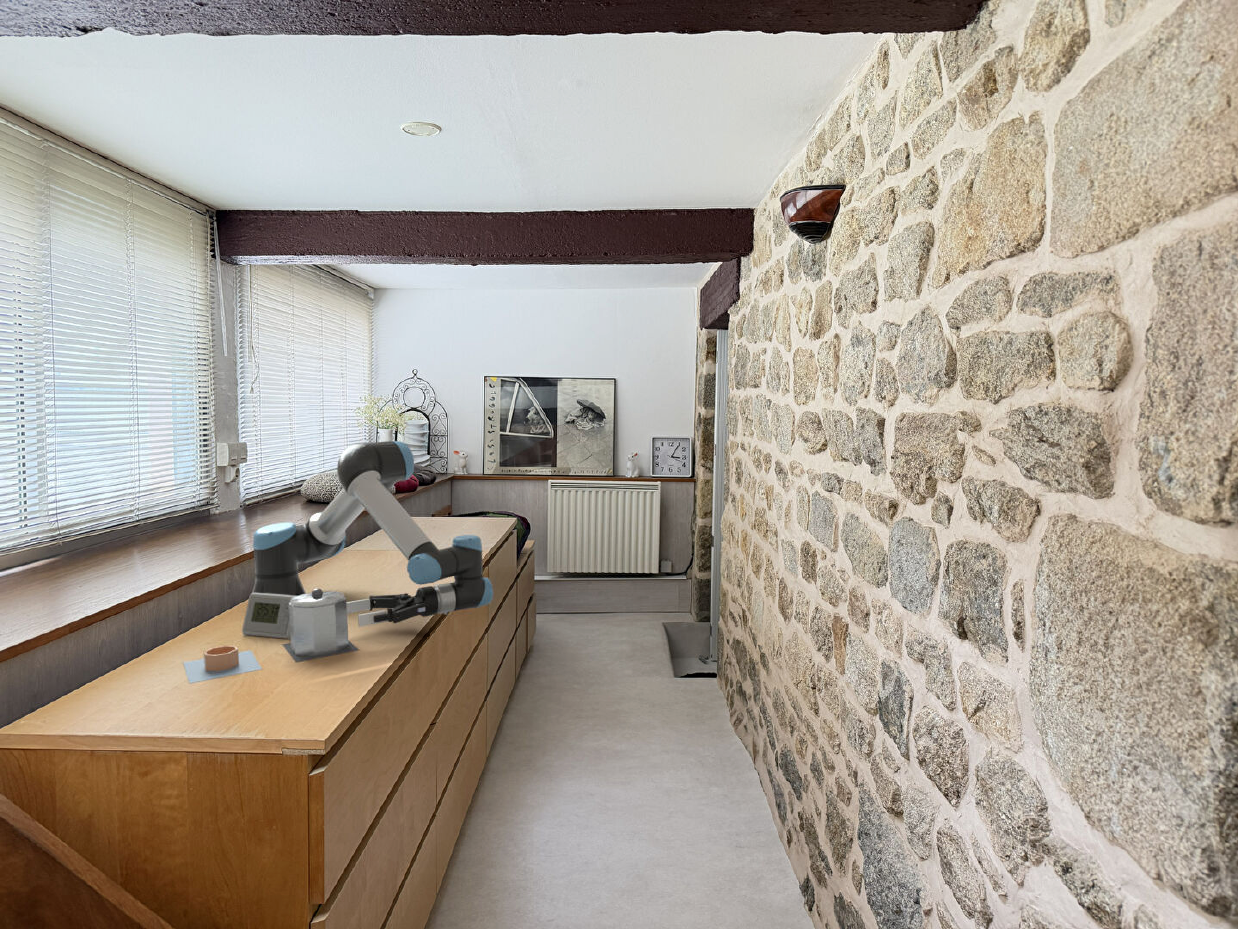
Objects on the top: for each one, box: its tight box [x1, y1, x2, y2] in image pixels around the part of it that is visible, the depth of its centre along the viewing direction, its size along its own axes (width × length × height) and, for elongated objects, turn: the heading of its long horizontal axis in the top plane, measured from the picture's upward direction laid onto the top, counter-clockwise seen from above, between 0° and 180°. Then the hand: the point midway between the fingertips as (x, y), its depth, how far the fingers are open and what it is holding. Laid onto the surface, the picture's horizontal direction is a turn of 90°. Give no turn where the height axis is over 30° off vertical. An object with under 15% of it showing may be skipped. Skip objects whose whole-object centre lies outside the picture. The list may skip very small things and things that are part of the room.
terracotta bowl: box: [203, 645, 239, 671], centre depth 168 cm, size 7×7×4 cm
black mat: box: [282, 639, 360, 663], centre depth 180 cm, size 16×14×1 cm
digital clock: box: [241, 592, 296, 640], centre depth 191 cm, size 16×9×11 cm, turn 60°
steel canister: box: [289, 588, 349, 656], centre depth 179 cm, size 12×12×14 cm
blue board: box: [182, 649, 263, 684], centre depth 168 cm, size 16×14×1 cm
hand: (350, 614), depth 183 cm, fingers open, 13 cm apart
